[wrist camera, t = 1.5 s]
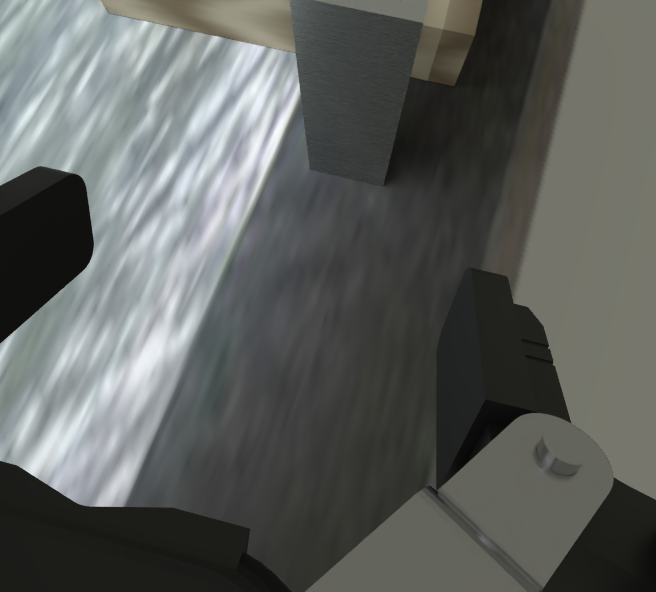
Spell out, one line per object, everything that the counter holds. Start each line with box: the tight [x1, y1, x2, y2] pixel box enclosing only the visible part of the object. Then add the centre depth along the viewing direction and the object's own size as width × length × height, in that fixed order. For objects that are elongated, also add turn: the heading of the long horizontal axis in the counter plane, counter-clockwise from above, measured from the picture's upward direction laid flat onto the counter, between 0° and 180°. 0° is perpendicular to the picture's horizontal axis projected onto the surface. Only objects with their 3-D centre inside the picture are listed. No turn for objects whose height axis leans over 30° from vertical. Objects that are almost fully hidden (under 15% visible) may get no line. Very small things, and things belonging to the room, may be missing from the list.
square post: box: [290, 0, 429, 186], centre depth 20 cm, size 4×4×12 cm
